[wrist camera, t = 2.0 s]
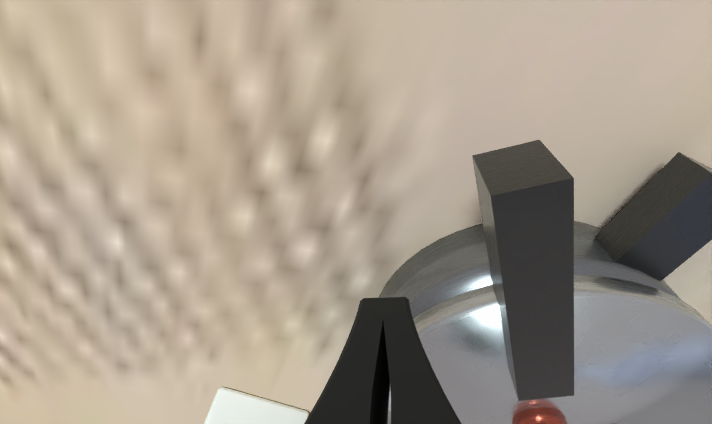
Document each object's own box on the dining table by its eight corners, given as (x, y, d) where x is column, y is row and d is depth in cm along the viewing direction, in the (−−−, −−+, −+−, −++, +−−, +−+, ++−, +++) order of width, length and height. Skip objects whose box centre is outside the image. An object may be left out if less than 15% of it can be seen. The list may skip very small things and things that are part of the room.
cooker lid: (692, 464, 21) (728, 523, 19) (406, 481, 25) (408, 533, 22) (821, 69, 10) (947, 97, 8) (267, 202, 14) (244, 248, 11)
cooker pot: (534, 426, 28) (555, 489, 25) (334, 362, 25) (326, 422, 22) (820, 220, 17) (925, 281, 14) (523, 73, 15) (564, 104, 11)
